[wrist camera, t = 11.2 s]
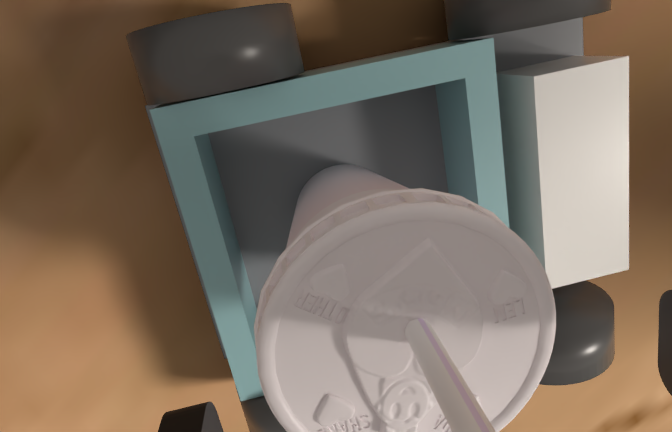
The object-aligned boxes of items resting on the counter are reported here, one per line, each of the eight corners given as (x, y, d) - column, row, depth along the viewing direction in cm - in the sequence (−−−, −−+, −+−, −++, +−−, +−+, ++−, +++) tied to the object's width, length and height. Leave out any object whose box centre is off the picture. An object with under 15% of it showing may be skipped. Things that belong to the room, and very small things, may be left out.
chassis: (564, -44, 19) (667, -78, 14) (577, 300, 23) (657, 362, 19) (132, 42, 17) (83, 37, 13) (238, 385, 22) (232, 474, 17)
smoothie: (436, 134, 19) (833, 322, 6) (412, 289, 21) (668, 703, 7) (264, 121, 18) (255, 309, 5) (255, 284, 20) (232, 751, 7)
